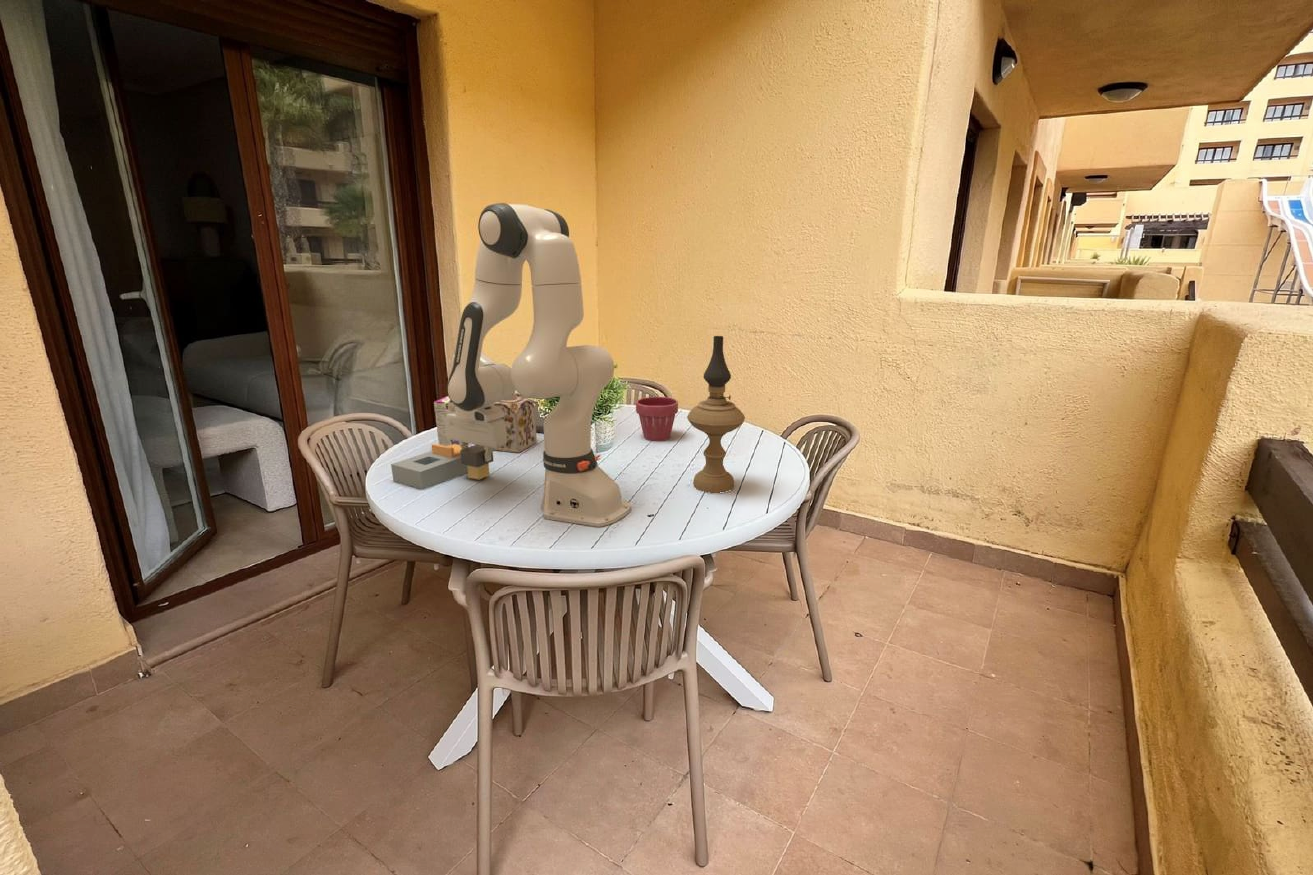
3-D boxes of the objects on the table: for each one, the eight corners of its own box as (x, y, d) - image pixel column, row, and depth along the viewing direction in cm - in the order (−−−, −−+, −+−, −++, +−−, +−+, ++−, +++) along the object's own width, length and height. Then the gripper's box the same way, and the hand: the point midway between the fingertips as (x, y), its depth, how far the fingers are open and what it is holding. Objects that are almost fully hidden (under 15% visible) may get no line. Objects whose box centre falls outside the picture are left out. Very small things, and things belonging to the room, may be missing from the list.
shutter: (473, 450, 170) (472, 441, 169) (451, 457, 163) (450, 448, 163) (454, 445, 174) (453, 437, 173) (432, 453, 167) (431, 444, 166)
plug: (494, 474, 163) (492, 447, 161) (478, 481, 158) (475, 453, 156) (479, 471, 166) (476, 444, 164) (463, 477, 161) (460, 450, 159)
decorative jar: (487, 450, 186) (482, 395, 181) (506, 439, 197) (502, 387, 192) (519, 453, 183) (515, 397, 177) (538, 443, 193) (535, 390, 188)
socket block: (479, 467, 170) (478, 451, 169) (422, 489, 154) (420, 472, 152) (451, 460, 176) (449, 444, 175) (393, 481, 160) (390, 464, 158)
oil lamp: (727, 500, 147) (733, 342, 135) (675, 489, 154) (677, 337, 143) (750, 482, 159) (758, 335, 148) (701, 472, 167) (705, 331, 155)
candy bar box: (456, 441, 195) (451, 393, 190) (470, 442, 194) (465, 394, 189) (438, 451, 185) (432, 401, 180) (452, 452, 184) (447, 402, 179)
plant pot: (629, 440, 196) (628, 403, 193) (646, 429, 209) (645, 394, 205) (668, 445, 191) (669, 407, 187) (683, 434, 204) (684, 398, 200)
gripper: (436, 408, 159) (442, 456, 163) (491, 416, 149) (495, 467, 153) (454, 403, 164) (459, 450, 168) (508, 411, 154) (512, 461, 158)
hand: (477, 458), depth 161 cm, fingers closed on plug, 6 cm apart
